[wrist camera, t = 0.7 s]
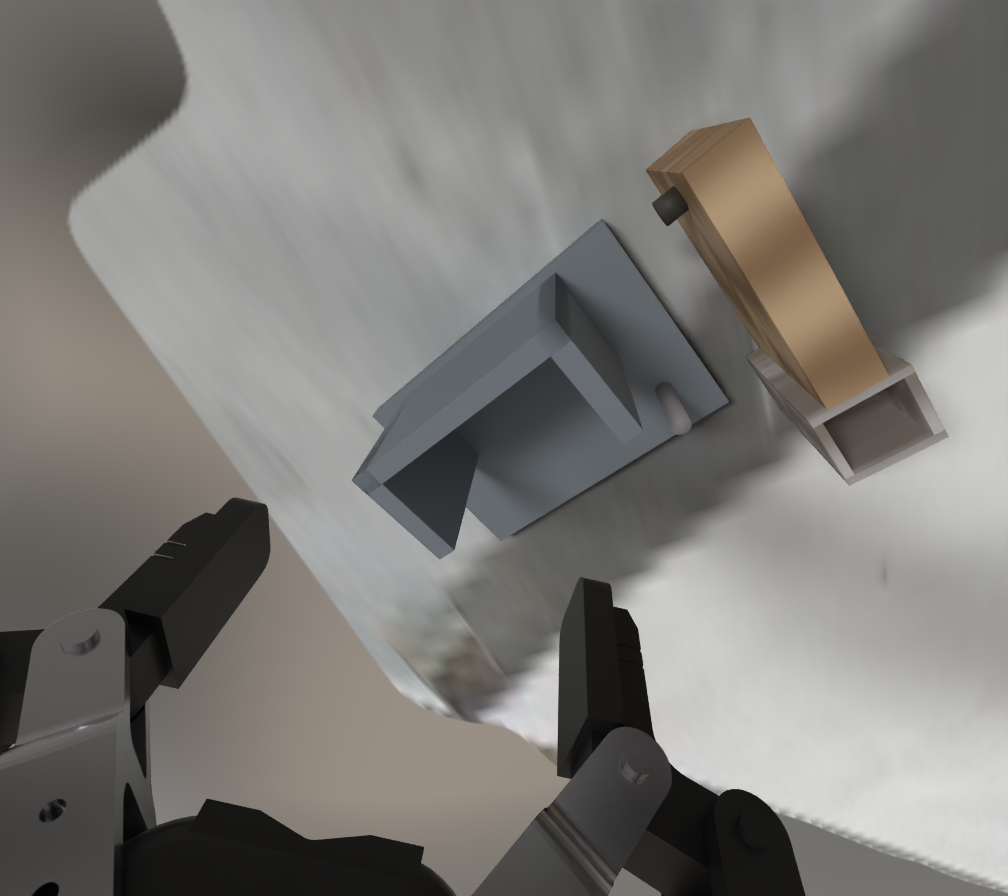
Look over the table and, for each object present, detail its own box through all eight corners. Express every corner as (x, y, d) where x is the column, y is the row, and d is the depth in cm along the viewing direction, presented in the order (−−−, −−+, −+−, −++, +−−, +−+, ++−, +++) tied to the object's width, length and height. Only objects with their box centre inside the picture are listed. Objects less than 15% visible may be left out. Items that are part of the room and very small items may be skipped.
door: (849, 367, 34) (948, 436, 26) (776, 410, 36) (845, 487, 28) (707, 117, 28) (774, 97, 20) (628, 184, 30) (657, 194, 22)
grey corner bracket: (601, 218, 31) (625, 248, 20) (723, 393, 36) (794, 491, 25) (378, 407, 39) (310, 501, 28) (502, 529, 44) (485, 649, 33)
